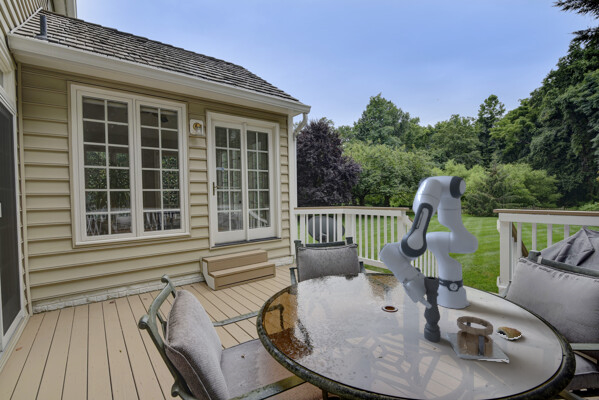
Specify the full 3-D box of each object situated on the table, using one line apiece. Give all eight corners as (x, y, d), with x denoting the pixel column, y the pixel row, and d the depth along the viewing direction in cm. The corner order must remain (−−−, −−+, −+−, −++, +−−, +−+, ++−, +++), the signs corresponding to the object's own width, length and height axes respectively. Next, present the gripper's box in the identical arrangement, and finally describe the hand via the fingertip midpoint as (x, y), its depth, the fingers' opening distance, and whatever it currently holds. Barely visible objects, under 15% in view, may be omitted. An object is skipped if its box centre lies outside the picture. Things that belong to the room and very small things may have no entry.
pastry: (510, 331, 118) (510, 322, 118) (527, 339, 111) (527, 330, 111) (493, 334, 115) (493, 325, 115) (509, 342, 109) (509, 333, 109)
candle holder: (435, 334, 116) (434, 276, 116) (443, 341, 110) (443, 280, 110) (421, 334, 116) (420, 276, 116) (428, 342, 110) (428, 280, 109)
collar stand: (446, 335, 114) (445, 312, 114) (489, 339, 111) (488, 315, 111) (458, 358, 99) (458, 330, 99) (509, 363, 95) (509, 335, 95)
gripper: (406, 278, 109) (433, 308, 103) (419, 266, 125) (443, 292, 119) (395, 287, 111) (421, 316, 106) (409, 274, 128) (432, 300, 122)
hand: (433, 303), depth 112 cm, fingers open, 8 cm apart
